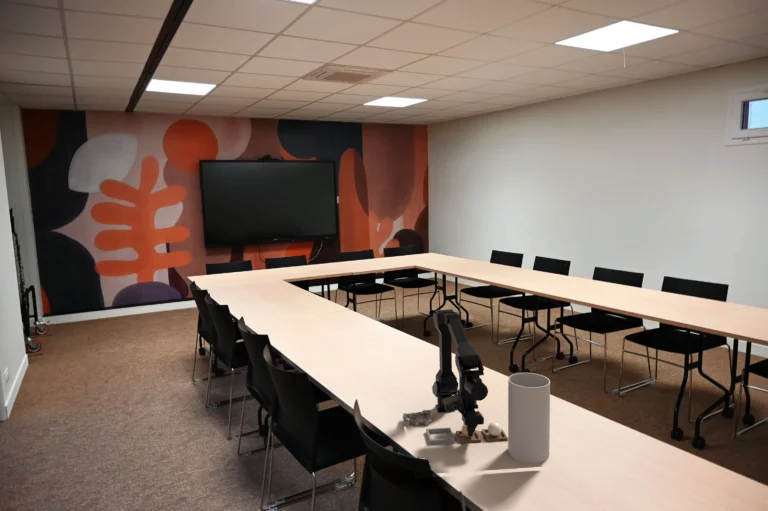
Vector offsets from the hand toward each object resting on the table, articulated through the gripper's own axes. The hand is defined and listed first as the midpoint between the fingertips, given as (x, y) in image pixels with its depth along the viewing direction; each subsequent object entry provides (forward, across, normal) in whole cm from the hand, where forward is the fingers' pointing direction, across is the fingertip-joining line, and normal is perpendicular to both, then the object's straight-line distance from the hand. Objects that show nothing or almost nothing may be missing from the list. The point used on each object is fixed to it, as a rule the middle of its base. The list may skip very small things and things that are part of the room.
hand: (468, 432), depth 169 cm
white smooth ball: (+2, 0, +9) cm, 9 cm away
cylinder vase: (+3, +12, +16) cm, 21 cm away
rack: (+3, 0, +4) cm, 5 cm away
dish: (+3, -1, -10) cm, 10 cm away
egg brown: (+1, 0, 0) cm, 1 cm away
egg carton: (+3, -14, -16) cm, 22 cm away
